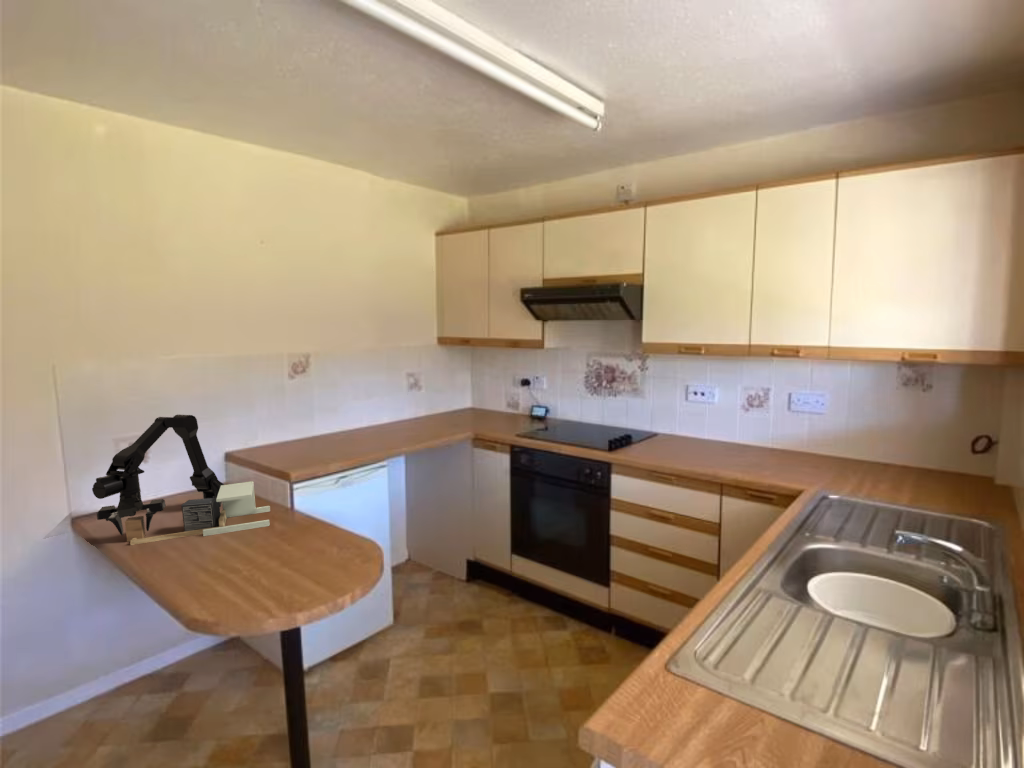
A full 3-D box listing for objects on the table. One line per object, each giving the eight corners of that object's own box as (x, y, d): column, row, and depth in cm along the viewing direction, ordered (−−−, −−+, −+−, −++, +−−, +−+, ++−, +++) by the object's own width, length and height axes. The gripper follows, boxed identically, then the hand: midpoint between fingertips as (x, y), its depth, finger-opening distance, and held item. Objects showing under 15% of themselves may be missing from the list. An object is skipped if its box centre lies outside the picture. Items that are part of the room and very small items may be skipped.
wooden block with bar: (132, 533, 193) (130, 514, 192) (226, 519, 204) (224, 501, 203) (124, 546, 182) (121, 526, 181) (223, 530, 194) (221, 511, 193)
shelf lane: (209, 519, 205) (205, 487, 203) (270, 510, 213) (267, 479, 211) (203, 536, 189) (199, 501, 188) (269, 525, 197) (266, 492, 196)
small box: (222, 524, 200) (219, 496, 199) (215, 531, 194) (212, 502, 192) (191, 526, 198) (188, 498, 197) (183, 533, 192) (180, 505, 191)
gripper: (89, 500, 175) (95, 547, 177) (157, 491, 183) (162, 536, 185) (99, 490, 186) (105, 534, 188) (163, 482, 193) (168, 525, 195)
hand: (135, 532), depth 188 cm, fingers open, 7 cm apart
